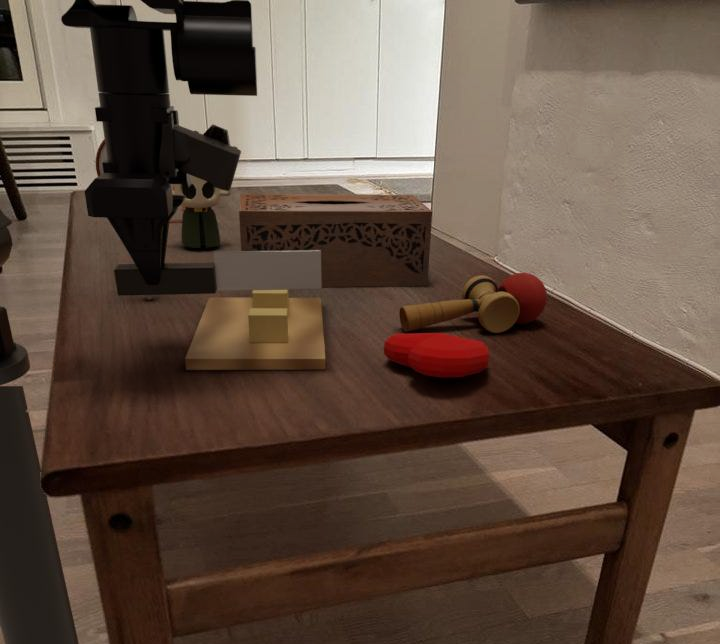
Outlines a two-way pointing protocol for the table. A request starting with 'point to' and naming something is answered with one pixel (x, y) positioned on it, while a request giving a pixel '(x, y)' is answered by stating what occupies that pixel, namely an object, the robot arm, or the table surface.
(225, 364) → the board
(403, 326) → the kendama
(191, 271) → the knife
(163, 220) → the robot arm
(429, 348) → the heart
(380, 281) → the tissue box cover
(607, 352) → the table surface
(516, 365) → the table surface
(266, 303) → the butter block
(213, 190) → the character mug
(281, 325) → the butter slice
